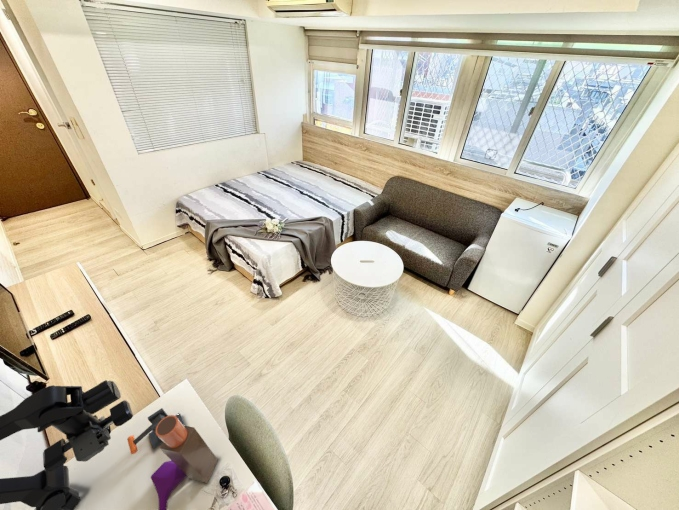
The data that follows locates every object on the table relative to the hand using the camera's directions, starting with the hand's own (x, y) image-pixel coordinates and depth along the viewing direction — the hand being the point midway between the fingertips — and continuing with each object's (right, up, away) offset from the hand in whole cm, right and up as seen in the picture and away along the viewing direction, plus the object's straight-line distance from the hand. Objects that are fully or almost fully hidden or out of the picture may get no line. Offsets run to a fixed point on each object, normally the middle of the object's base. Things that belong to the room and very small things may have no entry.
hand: (106, 444), depth 79 cm
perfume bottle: (+18, -7, +3) cm, 20 cm away
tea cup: (+26, +8, -8) cm, 28 cm away
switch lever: (+6, -3, +9) cm, 11 cm away
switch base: (+9, -6, +14) cm, 18 cm away
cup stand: (+26, -12, +6) cm, 29 cm away
